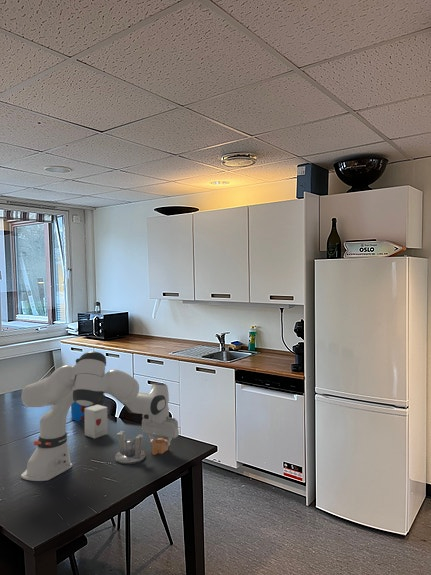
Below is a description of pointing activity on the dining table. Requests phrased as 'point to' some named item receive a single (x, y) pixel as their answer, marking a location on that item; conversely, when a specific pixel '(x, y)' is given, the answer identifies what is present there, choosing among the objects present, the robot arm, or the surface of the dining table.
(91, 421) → the supplement box
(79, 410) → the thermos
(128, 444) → the pronged peg stand
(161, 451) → the orange lumpy block
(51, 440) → the robot arm
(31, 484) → the dining table surface
